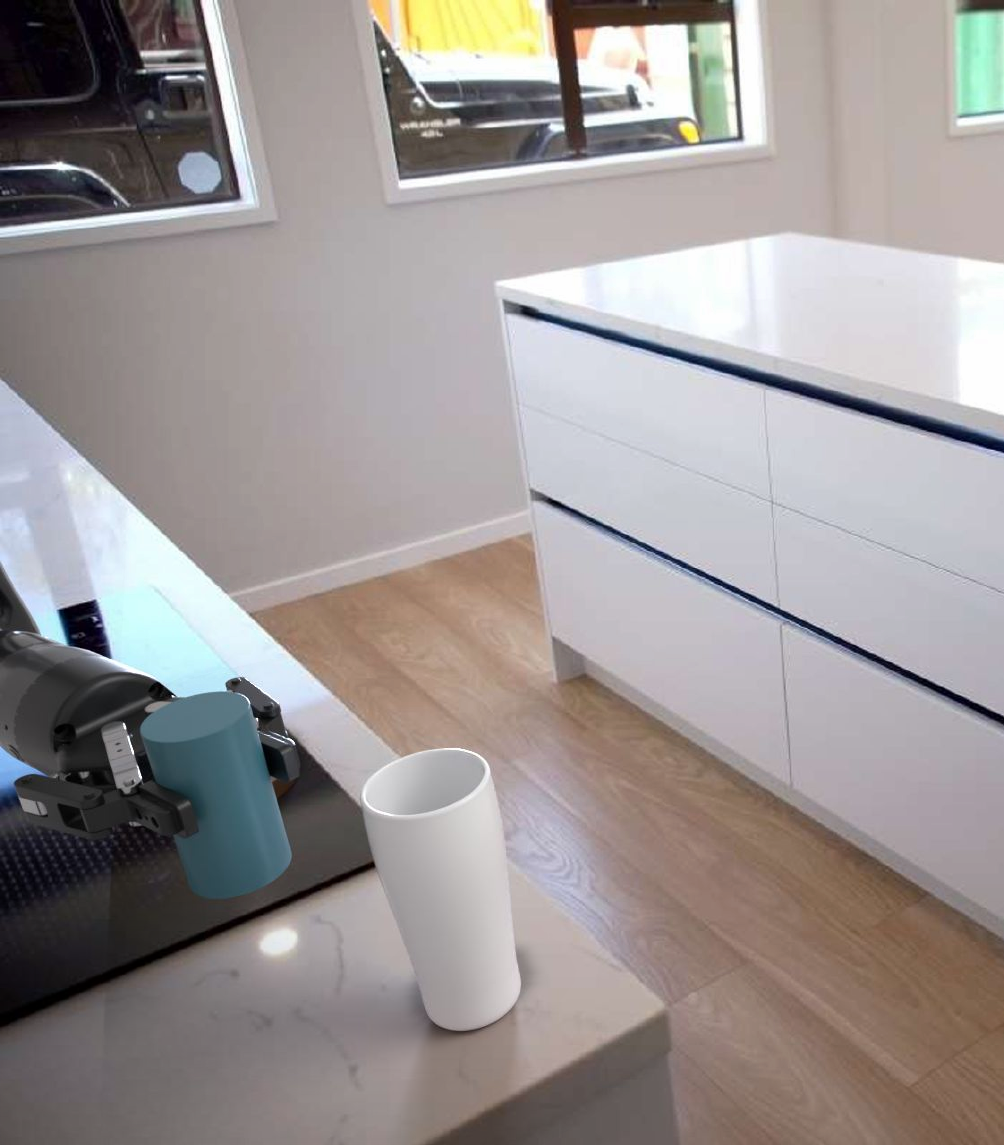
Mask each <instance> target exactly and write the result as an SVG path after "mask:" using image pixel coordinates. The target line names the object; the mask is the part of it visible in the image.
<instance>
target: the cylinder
mask: <svg viewBox="0 0 1004 1145" xmlns="http://www.w3.org/2000/svg"><path fill="white" fill-rule="evenodd" d="M184 697H185V698H182V699H179V700H177V701H174V702H172V703H169V704H167V705H165V706H163V707H161V708H159V709H158V710H156V711H155V712H153V713H152V714H151V715H149V716H148V717H147V718H146V719H145V720H144V721H143V723H142V725H141V727H140V734H141V737H142V740H143V744H144V747H145V750H146V753H147V756H148V759H149V762H150V765H151V769H152V772H153V775H154V778H155V781H156V783H158V784H159V785H161V786H163V787H166V788H168V789H170V790H172V791H174V792H176V793H178V794H180V795H182V796H184V797H186V798H187V799H188V800H189V801H190V803H191V805H192V807H193V810H194V813H195V817H196V820H197V823H198V826H199V832H197V833H195V834H194V835H192V836H190V837H188V838H186V839H184V838H182V837H180V836H178V835H176V834H175V835H173V836H172V837H173V840H174V843H175V846H176V849H177V852H178V857H179V859H180V862H181V865H182V868H183V871H184V874H185V878H186V880H187V884H188V886H189V889H190V890H191V891H192V892H193V893H194V894H195V895H196V896H198V897H201V898H205V899H209V900H212V899H213V900H223V899H231V898H237V897H240V896H244V895H247V894H250V893H253V892H255V891H258V890H260V889H262V888H264V887H266V886H268V885H269V884H271V883H273V882H274V881H276V879H278V878H279V877H281V875H282V874H283V873H284V872H285V871H286V870H287V869H288V867H289V866H290V864H291V862H292V857H293V855H292V854H293V853H292V849H291V845H290V843H289V839H288V836H287V831H286V829H285V828H286V827H285V825H284V820H283V817H282V813H281V809H280V807H279V804H278V803H279V802H278V799H276V795H275V792H274V788H273V785H272V781H271V777H270V774H269V770H268V767H267V763H266V759H265V756H264V752H263V749H262V745H261V741H260V738H259V734H258V731H257V727H256V724H255V720H254V716H253V713H252V709H251V706H250V702H249V700H248V699H247V698H246V697H245V696H243V695H241V694H238V693H234V692H226V691H223V690H222V691H210V692H202V693H197V694H193V695H189V696H184Z"/></svg>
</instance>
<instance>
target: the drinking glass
mask: <svg viewBox="0 0 1004 1145" xmlns="http://www.w3.org/2000/svg"><path fill="white" fill-rule="evenodd" d="M359 793H360V794H359V802H360V806H361V813H362V817H363V818H362V819H363V823H364V829H365V833H366V838H367V841H368V846H369V850H370V853H371V857H372V860H373V864H374V866H375V870H376V873H377V875H378V879H379V881H380V884H381V887H382V889H383V892H384V894H385V897H386V899H387V902H388V905H389V907H390V910H391V911H390V912H391V913H392V916H393V919H394V921H395V923H396V926H397V929H398V931H399V934H400V937H401V940H402V943H403V945H404V948H405V952H406V953H407V956H408V959H409V961H410V965H411V967H412V970H413V973H414V975H415V978H416V981H417V984H418V987H419V991H420V995H421V998H422V1002H423V1006H424V1009H425V1012H426V1014H427V1017H428V1018H429V1019H430V1020H431V1021H432V1022H433V1023H434V1024H435V1025H436V1026H438V1027H440V1028H441V1029H442V1028H443V1029H445V1030H449V1031H454V1032H455V1031H456V1032H465V1031H466V1032H468V1031H474V1030H477V1029H481V1028H484V1027H486V1026H489V1025H491V1024H493V1023H495V1022H497V1021H498V1020H500V1019H501V1018H503V1017H504V1016H505V1015H506V1014H507V1013H509V1011H511V1009H512V1008H513V1007H514V1006H515V1004H516V1003H517V1001H518V998H519V997H520V994H521V989H522V988H521V987H522V981H521V980H522V979H521V974H520V969H519V963H518V959H517V951H516V950H517V949H516V941H515V932H514V920H513V912H512V911H513V910H512V901H511V893H510V892H511V891H510V881H509V869H508V858H507V849H506V847H507V846H506V839H505V832H504V824H503V819H502V814H501V808H500V804H499V799H498V795H497V794H498V793H497V791H496V787H495V783H494V779H493V776H492V771H491V768H490V765H489V763H488V761H486V759H485V758H483V757H482V756H481V755H479V754H478V753H475V752H473V751H470V750H467V749H461V748H435V749H434V748H433V749H427V750H422V751H418V752H414V753H411V754H408V755H405V756H401V757H399V758H397V759H395V760H393V761H391V762H388V763H387V764H386V765H384V766H382V767H381V768H379V769H377V771H375V772H374V773H373V774H372V775H371V776H369V778H368V779H367V780H366V781H365V782H364V784H363V785H362V788H361V790H360V792H359Z"/></svg>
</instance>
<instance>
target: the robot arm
mask: <svg viewBox="0 0 1004 1145" xmlns="http://www.w3.org/2000/svg"><path fill="white" fill-rule="evenodd" d="M224 685H225V688H226V691H225V692H234V693H238V694H241V695H243V696H245V697H246V698H247V699H248V700H249V702H250V706H251V709H252V713H253V716H254V720H255V724H256V727H257V731H258V734H259V738H260V741H261V745H262V749H263V752H264V756H265V759H266V763H267V767H268V770H269V774H270V776H272V777H274V778H276V779H278V780H281V781H283V782H285V783H288V782H290V781H292V780H293V779H295V778H297V777H298V778H299V777H300V775H301V774H300V773H301V772H300V773H299V769H298V767H300V768H301V766H302V765H301V761H300V757H299V753H298V750H297V746H296V744H295V742H294V740H292V739H291V738H290V737H289V734H288V731H287V730H286V727H285V722H284V720H283V715H282V709H281V704H280V702H279V701H278V700H276V699H275V698H273V697H272V696H271V695H269V694H268V693H267V692H266V691H264V690H263V689H262V688H260V687H258V686H257V685H256V684H255V683H253V682H252V681H250V680H249V679H248V678H246V677H244V676H236V677H232V678H230V679H228V680H227V681H225V682H224ZM185 697H186V696H178V695H176V694H175V693H174V692H173V691H172V690H171V689H169V688H168V687H167V686H166V685H165V684H164V683H163V682H161V681H160V680H158V679H157V678H155V677H154V676H152V675H150V674H148V673H146V672H143V671H141V670H138V669H135V668H133V667H131V666H128V665H125V664H123V663H121V662H118V661H116V660H113V659H110V658H109V657H107V656H103V655H101V654H99V653H97V652H94V651H91V650H89V649H85V648H80V647H77V646H70V645H66V644H64V643H61V642H59V641H56V640H55V639H52V638H49V637H47V636H45V635H42V634H41V631H40V628H39V626H38V624H37V623H36V620H35V619H34V617H33V614H32V613H31V612H30V610H29V608H28V606H27V605H26V603H25V602H24V600H23V599H22V597H21V596H20V594H19V592H18V590H17V589H16V588H15V585H14V584H13V582H12V580H11V578H10V577H9V575H8V572H7V571H6V569H5V567H4V565H3V563H2V561H1V560H0V748H2V749H3V750H4V751H5V752H6V753H7V754H8V755H10V756H11V757H13V758H14V759H15V760H17V761H20V762H21V763H23V764H25V765H27V766H29V767H30V768H32V769H35V770H36V771H38V772H40V773H42V774H44V775H42V774H39V773H29V774H25V775H22V776H19V777H18V778H17V779H15V780H14V782H13V786H14V788H15V792H16V794H17V797H18V800H19V803H20V805H21V807H22V811H23V813H24V816H25V819H26V821H27V823H28V824H31V825H34V826H38V827H42V828H46V829H49V830H54V831H57V832H61V833H65V834H69V835H71V836H75V837H80V838H83V839H88V840H91V841H101V840H105V839H106V838H109V837H110V836H112V835H113V834H115V831H116V829H115V827H116V826H119V825H122V824H125V823H128V824H129V826H131V827H145V828H146V829H148V830H150V831H152V832H154V833H156V834H159V835H160V836H162V837H173V835H175V834H176V835H178V836H180V837H182V838H184V839H186V838H188V837H190V836H192V835H194V834H195V833H197V832H199V826H198V823H197V820H196V817H195V813H194V810H193V807H192V805H191V803H190V801H189V800H188V799H187V798H186V797H184V796H182V795H180V794H178V793H176V792H174V791H172V790H170V789H168V788H166V787H163V786H161V785H159V784H158V783H156V781H155V778H154V775H153V772H152V769H151V765H150V762H149V759H148V756H147V753H146V750H145V747H144V744H143V740H142V737H141V734H140V727H141V725H142V723H143V721H144V720H145V719H146V718H147V717H148V716H149V715H151V714H152V713H153V712H155V711H156V710H158V709H159V708H161V707H163V706H165V705H167V704H169V703H172V702H174V701H177V700H179V699H182V698H185ZM289 738H290V739H291V740H290V739H289ZM298 778H297V779H298Z"/></svg>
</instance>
